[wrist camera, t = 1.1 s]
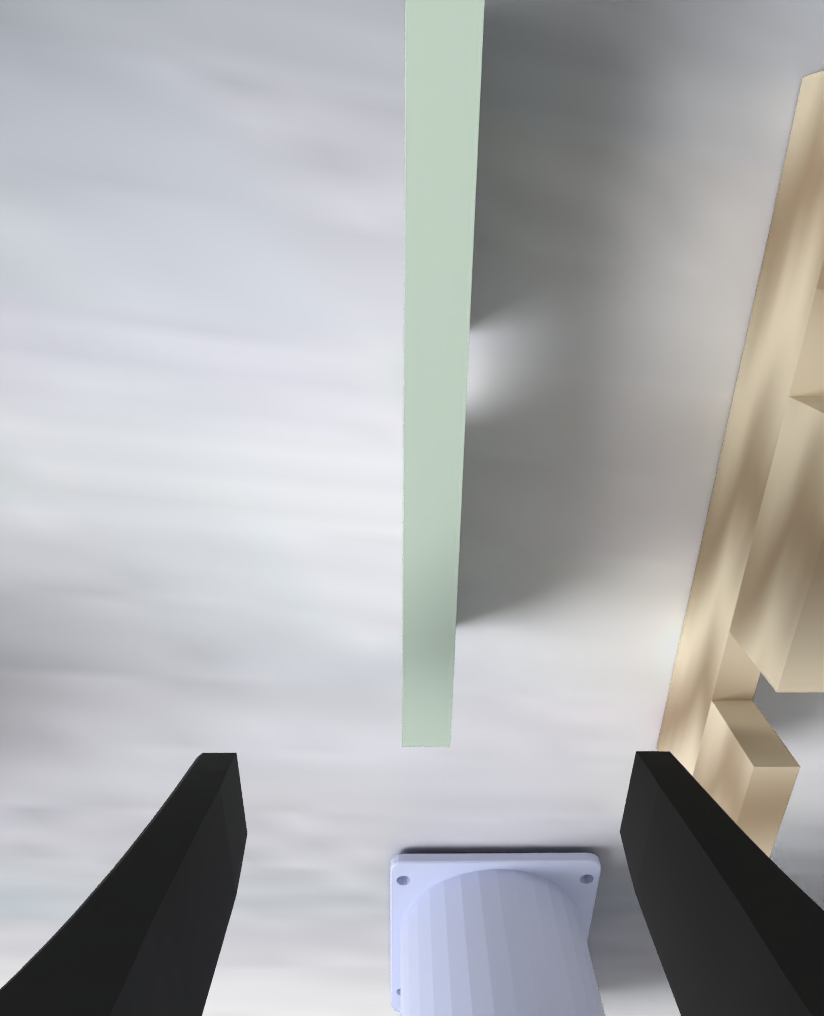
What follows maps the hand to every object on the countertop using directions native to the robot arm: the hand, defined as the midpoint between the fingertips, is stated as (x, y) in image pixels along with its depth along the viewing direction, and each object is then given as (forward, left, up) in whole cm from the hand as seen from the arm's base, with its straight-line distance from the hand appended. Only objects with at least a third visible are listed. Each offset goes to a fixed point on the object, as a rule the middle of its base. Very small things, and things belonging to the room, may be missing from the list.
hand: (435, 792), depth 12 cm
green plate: (+5, 0, -9) cm, 10 cm away
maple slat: (+2, -9, -9) cm, 13 cm away
